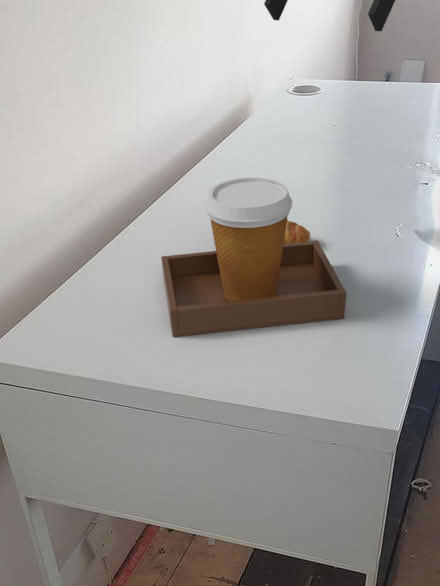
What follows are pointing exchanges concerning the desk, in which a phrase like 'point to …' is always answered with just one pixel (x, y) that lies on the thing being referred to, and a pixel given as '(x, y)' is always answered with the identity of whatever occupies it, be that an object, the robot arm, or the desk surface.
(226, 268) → the disposable coffee cup
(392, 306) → the desk surface
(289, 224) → the pastry
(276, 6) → the robot arm
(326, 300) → the serving tray
